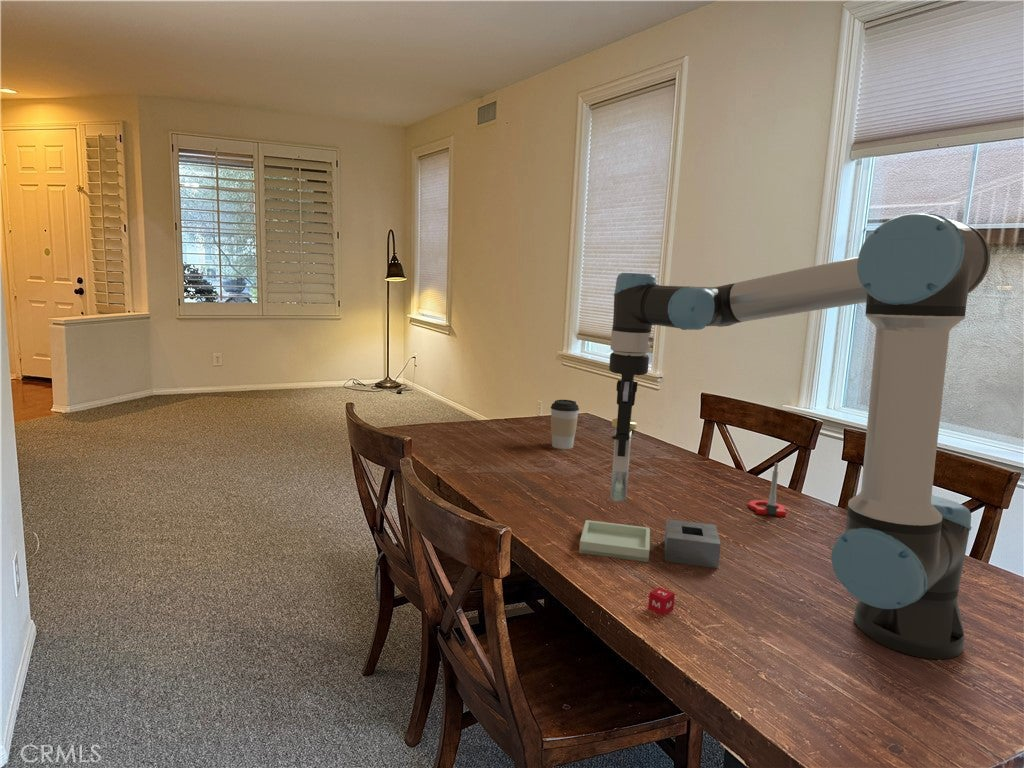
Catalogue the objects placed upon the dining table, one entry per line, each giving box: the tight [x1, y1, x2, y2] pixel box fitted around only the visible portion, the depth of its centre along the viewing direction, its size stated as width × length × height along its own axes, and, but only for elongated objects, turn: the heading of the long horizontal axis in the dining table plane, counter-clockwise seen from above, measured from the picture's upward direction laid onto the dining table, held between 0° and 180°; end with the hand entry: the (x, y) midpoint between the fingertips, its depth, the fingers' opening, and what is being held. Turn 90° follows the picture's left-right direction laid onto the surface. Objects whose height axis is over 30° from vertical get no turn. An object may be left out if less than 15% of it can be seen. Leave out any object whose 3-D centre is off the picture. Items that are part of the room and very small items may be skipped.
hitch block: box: [663, 518, 722, 569], centre depth 130 cm, size 10×10×5 cm
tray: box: [578, 519, 651, 563], centre depth 133 cm, size 12×14×2 cm
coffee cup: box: [550, 399, 580, 450], centre depth 206 cm, size 9×9×15 cm
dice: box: [647, 586, 676, 616], centre depth 109 cm, size 3×3×3 cm
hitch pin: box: [609, 418, 637, 502], centre depth 130 cm, size 5×5×16 cm
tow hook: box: [748, 462, 787, 517], centre depth 158 cm, size 8×13×9 cm
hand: (620, 467), depth 131 cm, fingers closed on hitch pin, 3 cm apart
